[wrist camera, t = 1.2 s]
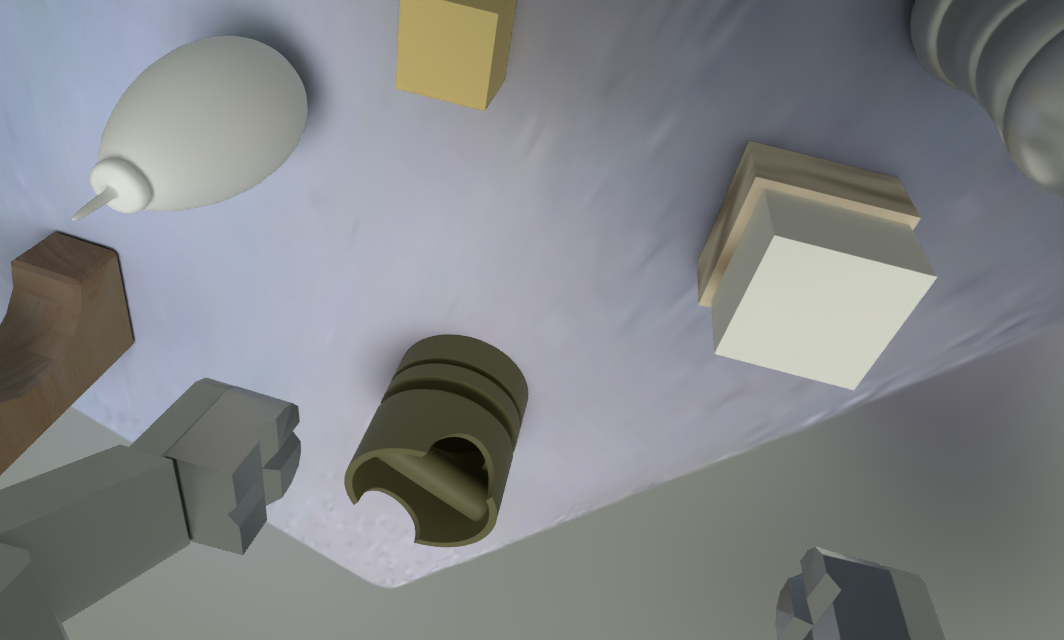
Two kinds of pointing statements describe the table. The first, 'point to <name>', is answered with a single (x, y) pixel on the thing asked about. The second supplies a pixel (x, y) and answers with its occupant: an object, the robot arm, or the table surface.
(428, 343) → the piston
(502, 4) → the mustard cube
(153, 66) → the air blower bulb
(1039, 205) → the table surface
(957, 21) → the plastic bottle
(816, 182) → the birch tower base
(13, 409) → the decorative block
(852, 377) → the painted tower top
